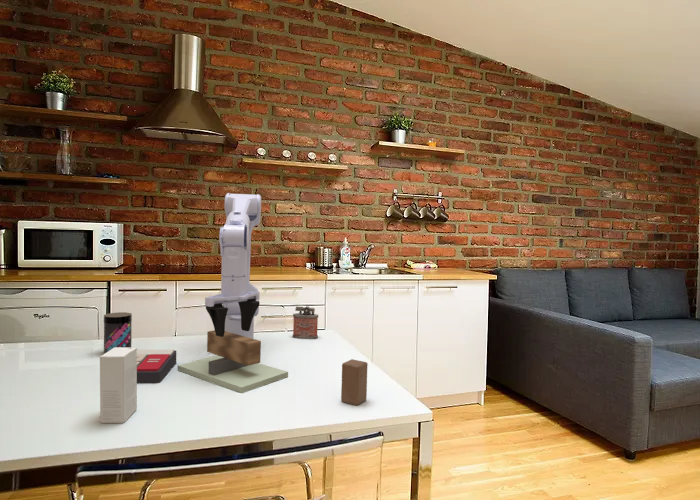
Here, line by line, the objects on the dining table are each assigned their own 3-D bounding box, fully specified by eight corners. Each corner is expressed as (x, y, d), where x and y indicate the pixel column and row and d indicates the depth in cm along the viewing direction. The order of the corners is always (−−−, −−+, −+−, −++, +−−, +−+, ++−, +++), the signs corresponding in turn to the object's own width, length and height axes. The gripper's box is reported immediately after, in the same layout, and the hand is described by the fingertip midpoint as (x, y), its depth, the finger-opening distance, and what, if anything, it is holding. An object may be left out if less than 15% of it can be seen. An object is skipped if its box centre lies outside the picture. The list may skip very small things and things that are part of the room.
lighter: (318, 337, 147) (319, 306, 147) (316, 339, 144) (317, 308, 143) (293, 335, 148) (294, 305, 147) (291, 338, 145) (292, 306, 144)
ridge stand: (177, 370, 110) (177, 353, 110) (225, 358, 121) (225, 343, 121) (241, 393, 96) (241, 374, 96) (288, 376, 108) (288, 360, 107)
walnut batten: (207, 351, 112) (207, 331, 112) (219, 349, 115) (219, 329, 115) (248, 365, 102) (248, 343, 102) (260, 362, 105) (260, 340, 104)
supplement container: (97, 356, 120) (98, 316, 119) (112, 349, 126) (112, 311, 126) (123, 357, 119) (123, 317, 119) (136, 350, 126) (136, 312, 126)
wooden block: (357, 406, 91) (358, 366, 91) (340, 401, 93) (341, 363, 93) (367, 400, 94) (368, 362, 94) (350, 395, 97) (351, 358, 96)
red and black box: (106, 369, 99) (131, 347, 114) (107, 388, 100) (131, 364, 115) (159, 368, 101) (176, 347, 115) (159, 387, 101) (176, 363, 116)
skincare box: (113, 410, 86) (114, 346, 85) (137, 409, 86) (137, 347, 86) (98, 423, 80) (98, 356, 79) (124, 423, 80) (124, 356, 80)
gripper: (219, 279, 99) (218, 341, 100) (268, 275, 111) (267, 330, 112) (199, 276, 104) (198, 336, 104) (249, 272, 115) (248, 326, 116)
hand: (233, 333), depth 108 cm, fingers open, 7 cm apart
